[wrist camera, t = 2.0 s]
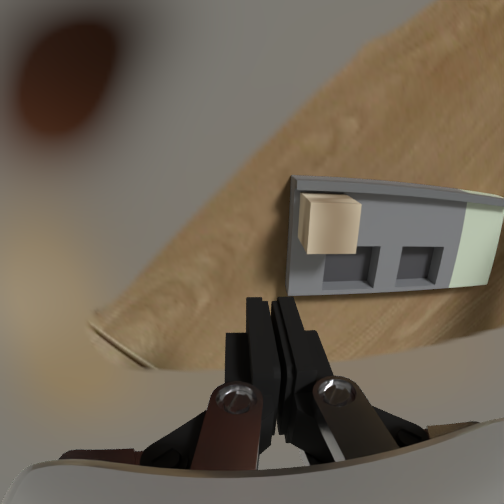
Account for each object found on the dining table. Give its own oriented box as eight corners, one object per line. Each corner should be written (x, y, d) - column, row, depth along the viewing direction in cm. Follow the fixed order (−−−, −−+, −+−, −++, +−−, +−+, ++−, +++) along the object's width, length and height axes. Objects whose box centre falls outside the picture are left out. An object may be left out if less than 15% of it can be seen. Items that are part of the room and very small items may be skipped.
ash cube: (344, 193, 26) (361, 204, 23) (340, 237, 28) (355, 253, 24) (300, 192, 26) (310, 202, 22) (297, 237, 28) (306, 254, 24)
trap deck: (496, 194, 29) (512, 201, 26) (478, 277, 33) (491, 288, 30) (291, 175, 27) (297, 180, 25) (285, 286, 32) (289, 301, 29)
